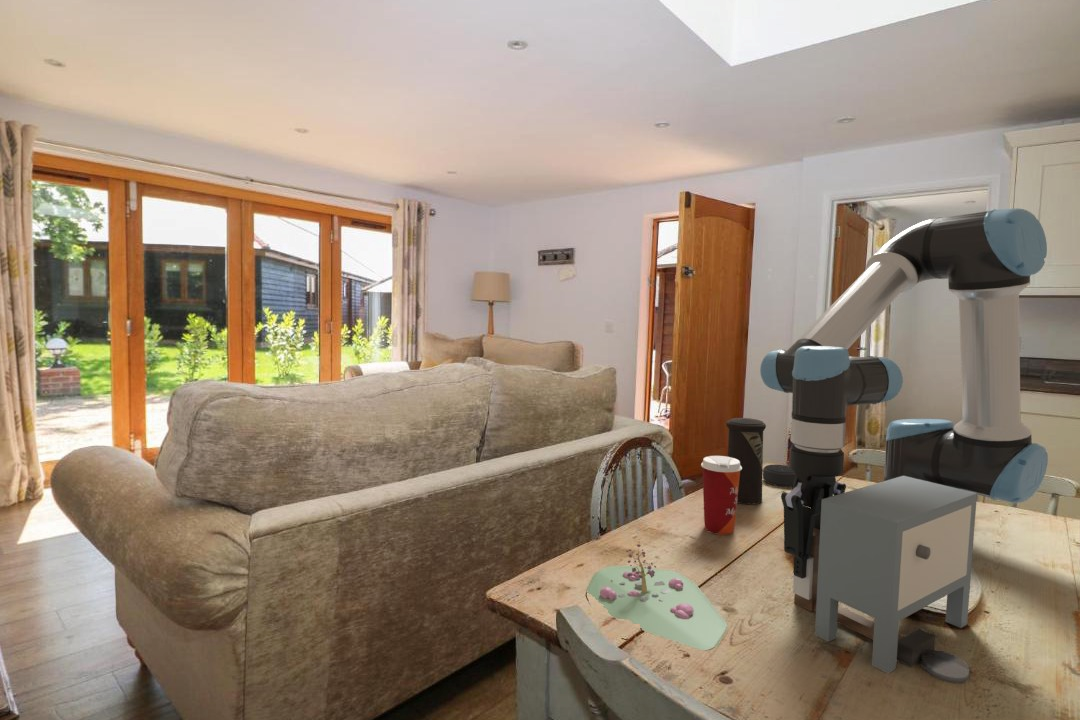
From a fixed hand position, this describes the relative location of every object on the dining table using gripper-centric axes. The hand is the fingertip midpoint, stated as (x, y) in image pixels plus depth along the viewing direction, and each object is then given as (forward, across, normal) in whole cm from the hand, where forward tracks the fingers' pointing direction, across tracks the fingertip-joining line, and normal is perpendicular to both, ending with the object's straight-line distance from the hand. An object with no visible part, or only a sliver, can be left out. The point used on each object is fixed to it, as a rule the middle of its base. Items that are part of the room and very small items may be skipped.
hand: (809, 592), depth 89 cm
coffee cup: (+2, -12, -28) cm, 31 cm away
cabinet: (+2, -4, +10) cm, 11 cm away
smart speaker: (+3, -52, -42) cm, 67 cm away
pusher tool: (+2, 0, +7) cm, 8 cm away
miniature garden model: (+3, +20, -12) cm, 24 cm away
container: (+2, -32, -38) cm, 50 cm away
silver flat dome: (+2, 0, +19) cm, 19 cm away
